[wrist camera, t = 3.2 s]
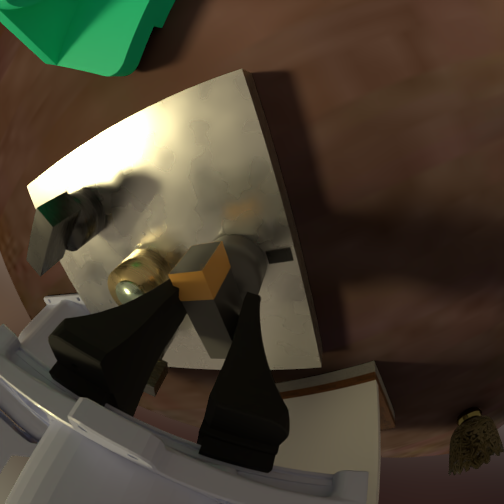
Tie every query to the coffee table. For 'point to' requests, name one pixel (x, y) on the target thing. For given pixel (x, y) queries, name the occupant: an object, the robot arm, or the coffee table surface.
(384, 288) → the coffee table surface
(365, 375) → the white dispenser tower
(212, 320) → the tan-ended square prism
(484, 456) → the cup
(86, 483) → the robot arm
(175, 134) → the base
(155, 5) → the camera mount
